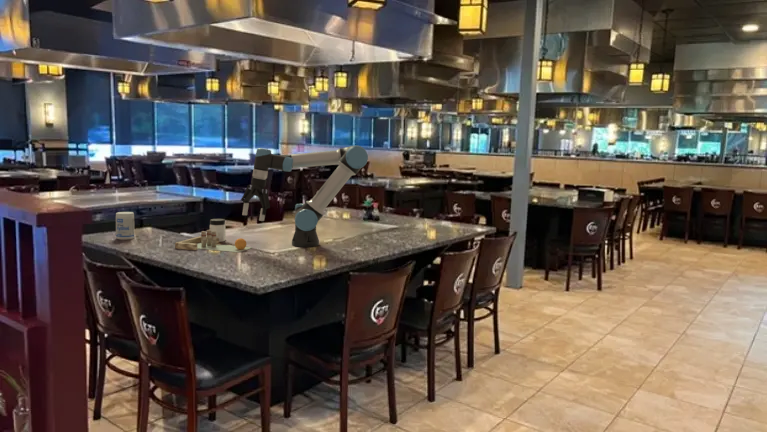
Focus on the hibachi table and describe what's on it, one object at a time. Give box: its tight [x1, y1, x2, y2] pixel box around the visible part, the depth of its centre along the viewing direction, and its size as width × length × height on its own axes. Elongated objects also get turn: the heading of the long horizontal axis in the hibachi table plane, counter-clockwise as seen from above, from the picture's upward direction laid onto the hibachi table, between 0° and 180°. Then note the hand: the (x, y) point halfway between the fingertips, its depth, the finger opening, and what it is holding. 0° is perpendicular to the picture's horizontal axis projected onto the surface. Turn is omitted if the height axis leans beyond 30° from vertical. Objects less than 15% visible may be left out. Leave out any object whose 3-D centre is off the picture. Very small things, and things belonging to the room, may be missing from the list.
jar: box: [209, 218, 226, 243], centre depth 324 cm, size 9×8×12 cm
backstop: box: [174, 235, 220, 251], centre depth 307 cm, size 12×22×3 cm, turn 164°
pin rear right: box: [206, 229, 212, 246], centre depth 308 cm, size 2×2×8 cm
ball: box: [234, 237, 247, 250], centre depth 300 cm, size 6×6×6 cm
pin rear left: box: [200, 230, 207, 247], centre depth 303 cm, size 2×2×8 cm
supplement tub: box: [115, 211, 135, 241], centre depth 321 cm, size 10×10×15 cm
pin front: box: [211, 231, 216, 247], centre depth 304 cm, size 2×2×8 cm
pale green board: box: [197, 243, 253, 253], centre depth 304 cm, size 32×14×1 cm, turn 74°
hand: (252, 217), depth 300 cm, fingers open, 13 cm apart
